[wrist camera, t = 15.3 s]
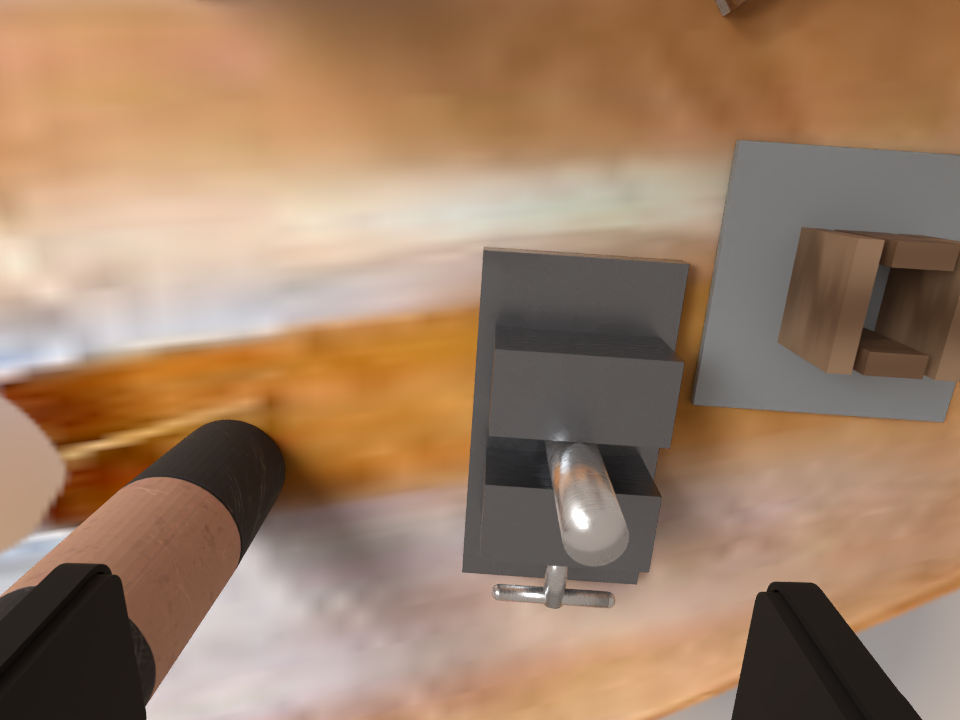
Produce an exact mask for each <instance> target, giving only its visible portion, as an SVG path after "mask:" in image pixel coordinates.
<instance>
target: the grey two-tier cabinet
mask: <svg viewBox="0 0 960 720" xmlns="http://www.w3.org/2000/svg"><path fill="white" fill-rule="evenodd" d="M715 1H716V3H717V5H718V7H719V9H720V11H721V13H722V16H725V15H726V14H728V13H729V12H731V11H732V10H734V9H735V8H737V7H738V6H740V5H741V4H743V3H744V2H746V1H747V0H715Z"/></svg>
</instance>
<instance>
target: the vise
mask: <svg viewBox="0 0 960 720" xmlns="http://www.w3.org/2000/svg"><path fill="white" fill-rule="evenodd" d="M688 269H689V264H688V263H686V262H684V261H682V260H667V259H653V258H638V257H624V256H609V255H594V254H580V253H565V252H551V251H536V250H522V249H507V248H492V247H484V253H483V268H482V283H481V298H480V313H479V328H478V343H477V358H476V373H475V388H474V403H473V418H472V433H471V448H470V463H469V478H468V493H467V508H466V523H465V538H464V553H463V568H462V572H465V573H479V574H494V575H508V576H523V577H537V578H544V587H534V586H520V585H506V584H497V585H495V586H494V587H493V589H492V596H493V598H494V599H496V600H499V601H512V602H527V603H541V604H544V605H545V606H547V607H549V608H553V609H557V608H560V607H562V606H563V605H570V606H584V607H598V608H611V607H613V606H614V604H615V601H616V600H615V596H614V595H613V594H612V593H611V592H606V591H592V590H577V589H566V581H567V580H580V581H594V582H609V583H623V584H637V580H638V574H639V572H649V569H650V563H651V557H652V551H653V545H654V539H655V533H656V528H657V522H658V516H659V510H660V504H661V498H662V497H661V495H660V493H659V491H658V489H657V487H656V485H655V483H654V477H655V470H656V464H657V458H658V452H659V448H668V449H670V445H671V439H672V433H673V427H674V421H675V415H676V410H677V404H678V398H679V392H680V386H681V380H682V374H683V368H684V361H683V360H682V359H681V358H680V357H679V356H678V355H677V354H676V353H675V349H676V342H677V336H678V330H679V324H680V318H681V312H682V306H683V300H684V294H685V288H686V281H687V275H688Z"/></svg>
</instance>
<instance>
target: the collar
mask: <svg viewBox="0 0 960 720" xmlns="http://www.w3.org/2000/svg"><path fill="white" fill-rule="evenodd" d="M879 264H880V265H884V266H888V267H890V271H889V275H888V279H887V283H886V287H885V291H884V295H883V298H882V302H881V306H880V310H879V314H878V318H877V322H876V326H875V330H874V331H871V330H869V329H867V328H864V327H863V325H864V321H865V317H866V313H867V309H868V305H869V301H870V297H871V293H872V289H873V285H874V282H875V278H876V274H877V270H878V266H879ZM777 343H779V344H781V345H782V346H784V347H785V348H787V349H789V350H790V351H792V352H794V353H795V354H797V355H798V356H800V357H802V358H803V359H805V360H806V361H808V362H810V363H811V364H813V365H814V366H816V367H818V368H819V369H821V370H822V371H824V372H826V373H834V374H849V375H851V373H852V369H853V370H855V371H857V372H858V373H860V374H862V375H864V376H879V377H894V378H909V379H923V376H924V375H925V376H927V377H929V378H931V379H933V380H939V381H954V382H960V241H955V240H949V239H943V238H936V237H930V236H924V235H913V234H899V235H898V234H892V233H882V232H867V231H852V230H837V229H835V231H834V230H828V229H822V228H806V227H802V228H801V232H800V237H799V242H798V247H797V251H796V256H795V261H794V266H793V270H792V275H791V280H790V285H789V289H788V294H787V299H786V304H785V308H784V313H783V318H782V323H781V327H780V332H779V337H778V342H777Z"/></svg>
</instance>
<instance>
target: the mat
mask: <svg viewBox="0 0 960 720" xmlns="http://www.w3.org/2000/svg"><path fill="white" fill-rule="evenodd" d="M802 227H806V228H822V229H828V230H834V231H835V229H837V230H852V231H867V232H882V233H892V234H898V235H899V234H913V235H924V236H930V237H936V238H943V239H949V240H955V241H960V155H951V154H936V153H922V152H907V151H893V150H878V149H863V148H849V147H834V146H819V145H805V144H790V143H775V142H761V141H746V140H737V141H736V146H735V152H734V158H733V163H732V169H731V175H730V180H729V186H728V192H727V197H726V203H725V209H724V214H723V220H722V226H721V231H720V237H719V243H718V248H717V254H716V260H715V266H714V271H713V277H712V283H711V288H710V294H709V300H708V305H707V311H706V317H705V322H704V328H703V334H702V339H701V345H700V351H699V356H698V362H697V368H696V373H695V379H694V385H693V391H692V396H691V403H692V404H693V405H700V406H715V407H729V408H744V409H758V410H773V411H787V412H802V413H816V414H831V415H845V416H860V417H874V418H889V419H903V420H918V421H932V422H944V420H945V417H946V414H947V410H948V407H949V404H950V400H951V397H952V394H953V391H954V387H955V384H956V382H954V381H939V380H933V379H931V378H929V377H927V376H925V375H924V376H923V379H909V378H894V377H879V376H864V375H862V374H860V373H858V372H857V371H855V370H853V369H852V373H851V375H849V374H834V373H826V372H824V371H822V370H821V369H819V368H818V367H816V366H814V365H813V364H811V363H810V362H808V361H806V360H805V359H803V358H802V357H800V356H798V355H797V354H795V353H794V352H792V351H790V350H789V349H787V348H785V347H784V346H782V345H781V344H779V343H777V342H778V337H779V332H780V327H781V323H782V318H783V313H784V308H785V304H786V299H787V294H788V289H789V285H790V280H791V275H792V270H793V266H794V261H795V256H796V251H797V247H798V242H799V237H800V232H801V228H802ZM889 271H890V267H888V266H884V265H880V264H879V266H878V270H877V274H876V278H875V282H874V285H873V289H872V293H871V297H870V301H869V305H868V309H867V313H866V317H865V321H864V325H863V327H864V328H867V329H869V330H871V331H874V330H875V326H876V322H877V318H878V314H879V310H880V306H881V302H882V298H883V295H884V291H885V287H886V283H887V279H888V275H889Z"/></svg>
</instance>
